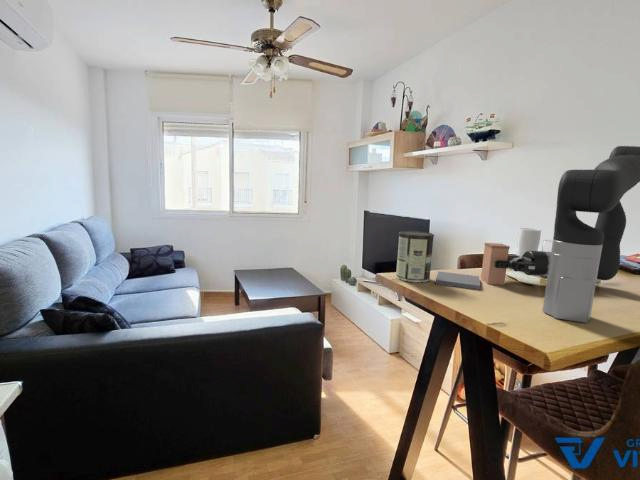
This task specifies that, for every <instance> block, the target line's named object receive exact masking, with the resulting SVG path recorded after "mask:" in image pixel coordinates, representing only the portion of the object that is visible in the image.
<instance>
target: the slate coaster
mask: <svg viewBox="0 0 640 480" xmlns="http://www.w3.org/2000/svg"><path fill="white" fill-rule="evenodd" d="M435 277H436V278H435V283H436V285H440V284H442V285H441V286H448V285H449V286H448V287H455V286H457V288H462V287H463V289H470V290H478V291H479V290H481V283H480V277H479V276H477V275H470V274H463V273H455V272H447V271H439V270H438V272H437V274H436V276H435ZM435 283H434V284H435Z"/></svg>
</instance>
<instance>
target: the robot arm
mask: <svg viewBox="0 0 640 480" xmlns="http://www.w3.org/2000/svg"><path fill="white" fill-rule="evenodd" d="M638 183H640V146H634V145H633V146H632V145H631V146H630V145H617V146H616V147H614V148H613V149H612V151H611V152H610V154H609V156H608V158H607V159H605V160H603V161H601V162H600V163H598V164H597V166H595V168H594V169H567V170H566V171H564V172H563V174H562V175H561V177H560V180H559V182H558V188H557V199H556V209H555V218H554V229H553V239H552V246H551V251H543V250H541V251H540V250H538V251H526V252H525V253H524V254H523V256H522V257H519V255H517V254H513V253H508V260H507V261H503V260H496V261H495V265H494V267H496V268H506V270H507V269H508V270H510V271H514V272H522V271H523V273H524V274H525V275H527V276H535V277H537V276H539V277H546V283H545V290H544V299H543V304H542V305H543V306H542V311H543V312H544V313H545V314H547V315H549V316H552V317H554V318H555V319H558V320H559V319H560V320H565V321H571V322H572V321H573V322H579V323H585V324H587V323H588V321H590V320H591V315H592V310H593V304H594V297H595V292H596V285H597V280H600V281H610V280H612V279H613V278H614V277H615V276H616V275H617V274H618V272H619V270H620V267H621V266H620V265H621V242H622V239H623V236H624V233H625V229H626V225H627V216H626V212H625V210H624V207H623V205H622V203H621V199H622V198H623V197H624V195H625V194H626V193H628V191H630V190H631V189H632V188H634V187H635V186H637V185H638ZM577 212H583V213H597V214H598V215H597V219H596V222H595V225H594V227H593V226H591V225H588V224H586V223H585V222H584V221H582V220H581V219H580V218H579V217H578V216H577ZM483 256H484V254H483V255H482V257H483Z"/></svg>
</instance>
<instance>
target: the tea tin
mask: <svg viewBox="0 0 640 480" xmlns="http://www.w3.org/2000/svg"><path fill="white" fill-rule="evenodd" d="M510 249H511V247H510V246H509V245H507V244H503V243H497V242H496V243H495V242H484V248H483V255H484V256H483V255H482V266H481V274H480V281H482V282H484V283H485V284H487V285H505V282H506V274H507V268H496V267H494V265H495V261H496V260H503V261H507V260H508V254H509V253H510V252H509V251H510Z"/></svg>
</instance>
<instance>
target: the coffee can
mask: <svg viewBox="0 0 640 480" xmlns="http://www.w3.org/2000/svg"><path fill="white" fill-rule="evenodd" d="M434 237H435V234H434V233H431V232H425V231H419V230H417V231H415V230H402V231H399V232H398V246H397V249H398V250H397V258H396V259H397V261H396V271H395V272H396V273H395V277H396V276H397V277H398V278H399V279H398V278H397V279H398V280H400V279H401V280H400V281H403V282H407V281H408V282H407V283H417V282H418V283H419V284H420V283H421V282H423V283H428V282H430V278H431V277H430V276H431V267H432V256H433V246H434V245H433V244H434ZM427 281H428V282H427Z"/></svg>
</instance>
